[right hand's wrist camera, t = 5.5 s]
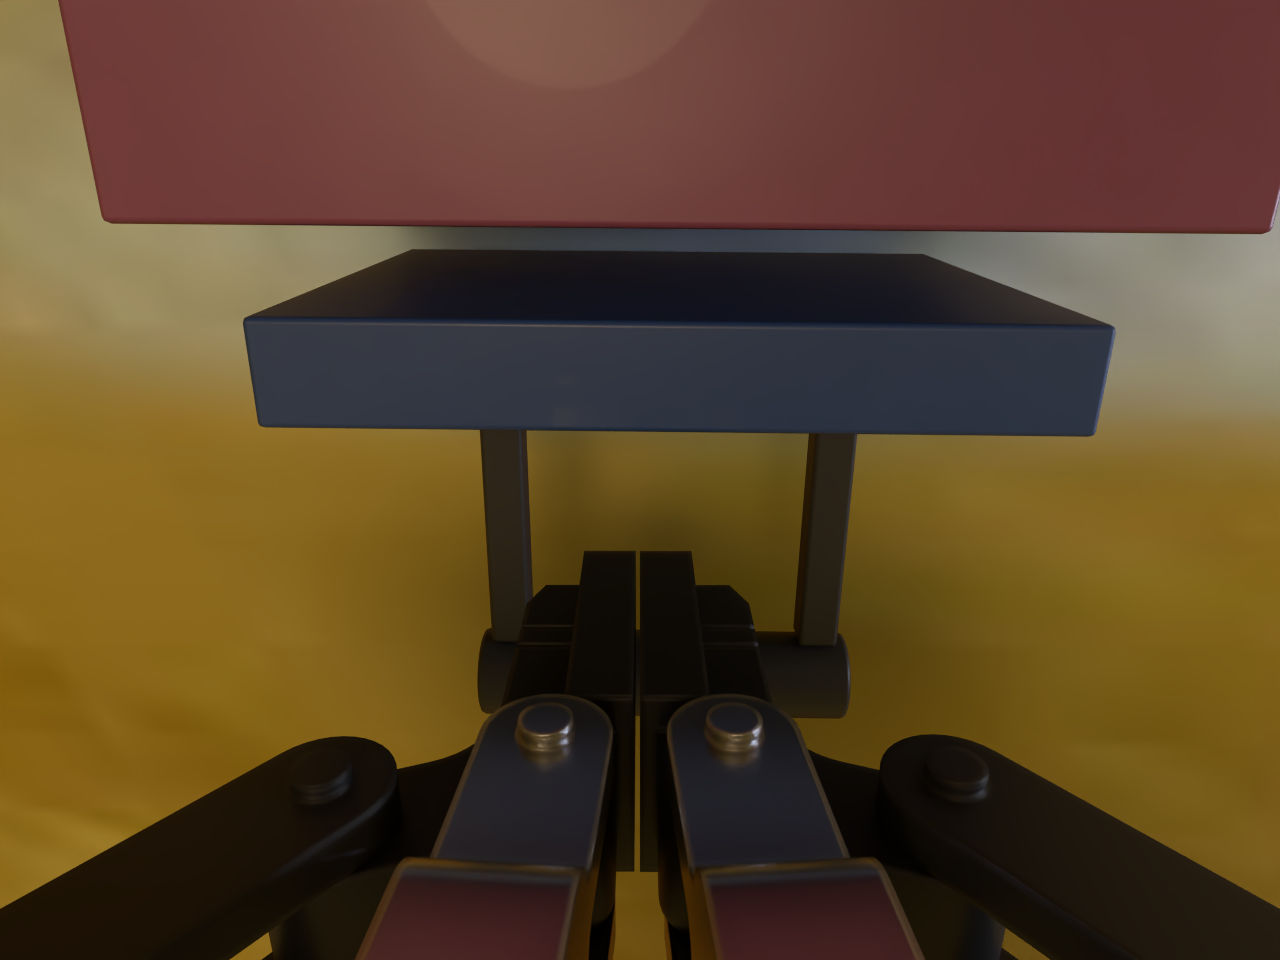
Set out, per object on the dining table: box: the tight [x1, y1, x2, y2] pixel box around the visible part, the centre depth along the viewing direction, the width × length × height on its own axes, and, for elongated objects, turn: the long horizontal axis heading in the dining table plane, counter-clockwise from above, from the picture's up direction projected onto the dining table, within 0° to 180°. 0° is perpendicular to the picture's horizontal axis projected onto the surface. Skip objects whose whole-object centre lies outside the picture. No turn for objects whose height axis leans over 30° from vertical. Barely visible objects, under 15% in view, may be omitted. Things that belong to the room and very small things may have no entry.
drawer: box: [243, 249, 1116, 718], centre depth 11 cm, size 20×9×7 cm, turn 0°
